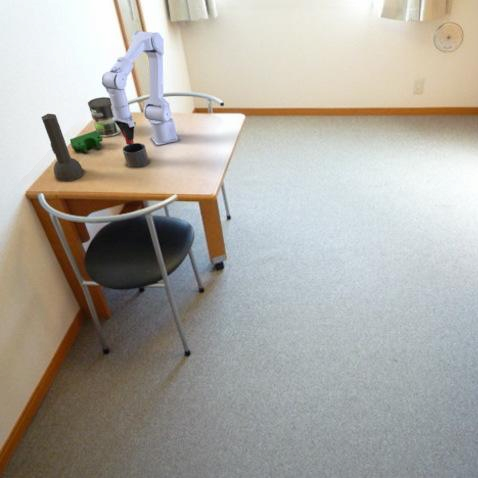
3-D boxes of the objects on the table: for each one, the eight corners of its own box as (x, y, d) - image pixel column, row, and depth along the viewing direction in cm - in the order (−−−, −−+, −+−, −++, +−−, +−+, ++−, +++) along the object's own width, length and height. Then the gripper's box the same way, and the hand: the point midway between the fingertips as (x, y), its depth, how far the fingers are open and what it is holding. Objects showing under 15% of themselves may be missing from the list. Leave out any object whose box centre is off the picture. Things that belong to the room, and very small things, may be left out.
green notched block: (86, 162, 205) (74, 149, 197) (78, 155, 207) (66, 142, 199) (108, 144, 208) (98, 131, 200) (101, 137, 210) (90, 123, 202)
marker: (133, 140, 193) (127, 120, 188) (135, 143, 191) (129, 123, 186) (125, 142, 192) (119, 122, 186) (127, 145, 190) (121, 124, 184)
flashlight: (83, 166, 193) (56, 171, 191) (63, 106, 178) (33, 110, 175) (83, 178, 186) (55, 183, 183) (62, 116, 171) (31, 121, 168)
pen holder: (145, 155, 201) (141, 141, 197) (151, 164, 195) (147, 149, 191) (124, 160, 197) (120, 146, 193) (129, 169, 191) (125, 154, 187)
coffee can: (110, 138, 213) (101, 107, 204) (91, 134, 216) (82, 104, 207) (126, 129, 220) (118, 99, 212) (108, 125, 224) (99, 95, 215)
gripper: (101, 101, 184) (111, 135, 192) (117, 113, 175) (127, 147, 184) (119, 97, 188) (128, 129, 196) (136, 108, 179) (144, 142, 187)
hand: (129, 138), depth 190 cm, fingers closed on marker, 3 cm apart
